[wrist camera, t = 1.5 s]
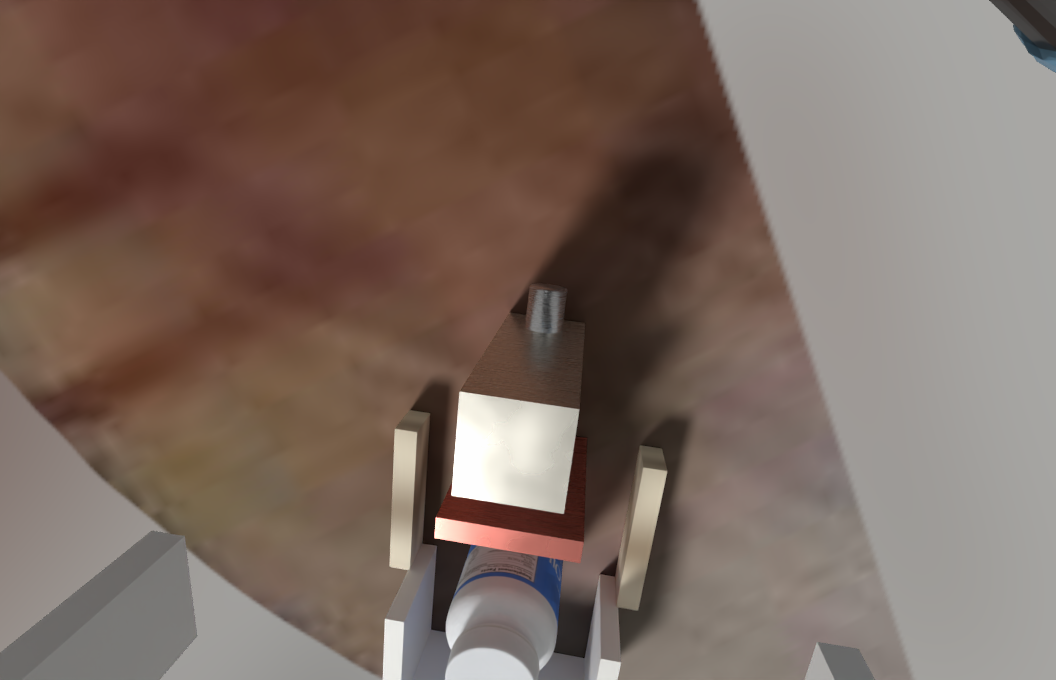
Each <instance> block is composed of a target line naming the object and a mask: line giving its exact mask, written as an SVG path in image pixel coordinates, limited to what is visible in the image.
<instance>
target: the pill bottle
mask: <svg viewBox="0 0 1056 680" xmlns="http://www.w3.org/2000/svg"><path fill="white" fill-rule="evenodd" d="M562 566H563V560H559V559H553V558H548V557H542V556H536V555H530V554H524V553H518V552H513V551H507V550H501V549H495V548H489V547H483V546H478V545H472V544H471V547H470V550H469V553H468V556H467V559H466V562H465V565H464V568H463V571H462V574H461V577H460V579H459V582H458V585H457V588H456V591H455V594H454V597H453V600H452V603H451V605H450V608H449V612H448V615H447V620H446V636H447V640H448V644H449V647H450V649H451V653H450V657H449V660H448V664H447V668H446V673H445V680H538V676H539V671H540V670H541V669H542V668H543V667H544V666H545V665H546V663H547V662H548V661H549V659H550V658H551V656H552V654H553V651H554V648H555V644H556V638H557V629H558V618H559V605H560V591H561V578H562Z"/></svg>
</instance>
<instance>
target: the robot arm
mask: <svg viewBox="0 0 1056 680" xmlns="http://www.w3.org/2000/svg"><path fill="white" fill-rule="evenodd" d="M989 1H991V2H992V3H993V4H994V5H995V6H996V7H997V8H998V9H999V10H1000V11H1001V12H1002V13H1003V14H1004V15H1005V16H1006V17H1007V18H1008V19H1009V20H1010V21H1011V22H1012V23H1013V24H1014V25H1013V27H1014V31H1015V32H1016V34H1017V35H1018V37H1019V39H1020V40H1021V42H1022V43H1023V44H1024V45H1025V47H1026V49H1027V51H1028V52H1029V53H1030V54H1031V55H1032V56H1034V58H1035V59H1036V61H1037V62H1039V63H1041V64H1042V65H1044V66H1045V67H1047V68H1048V69H1050V70H1052V71H1053V72H1056V0H989ZM196 637H197V631H196V624H195V615H194V607H193V599H192V591H191V583H190V575H189V567H188V559H187V551H186V543H185V536H180V535H174V534H168V533H162V532H155V531H151V532H150V533H148V534H147V535H146V536H145V537H143V538H142V539H141V540H140V541H138V542H137V543H136V544H135V545H133V546H132V547H131V548H130V549H129V550H127V551H126V552H125V553H124V554H122V555H121V556H120V557H119V558H117V559H116V560H115V561H114V562H112V563H111V564H110V565H109V566H107V567H106V568H105V569H104V570H102V571H101V572H100V573H99V574H97V575H96V576H95V577H94V578H93V579H91V580H90V581H89V582H87V583H86V584H85V585H84V586H82V587H81V588H80V589H79V590H77V591H76V592H75V593H74V594H72V595H71V596H70V597H69V598H68V599H66V600H65V601H64V602H63V603H61V604H60V605H59V606H58V607H56V608H55V609H54V610H53V611H51V612H50V613H49V614H48V615H46V616H45V617H44V618H43V619H42V620H40V621H39V622H38V623H36V624H35V625H34V626H33V627H31V628H30V629H29V630H28V631H27V632H25V633H24V634H23V635H22V636H20V637H19V638H18V639H17V640H16V641H14V642H13V643H12V644H10V645H9V646H8V647H7V648H5V649H4V650H3V651H2V652H0V680H160V679H161V678H162V676H163V675H164V674H165V673H166V671H168V669H169V668H170V667H171V666H172V665H173V664H174V662H175V661H176V660H177V659H178V658H179V657H180V655H181V654H182V653H183V652H184V651H185V650H186V649H187V647H188V646H189V645H190V644H191V643H192V642H193V640H194V639H195V638H196ZM805 680H875V679H874V677H873V675H872V673H871V671H870V669H869V667H868V666H867V664H866V662H865V660H864V658H863V656H862V655H861V653H860V651H859V649H856V648H850V647H844V646H838V645H832V644H826V643H820V642H817V644H816V647H815V650H814V653H813V656H812V659H811V662H810V665H809V668H808V671H807V674H806V678H805Z"/></svg>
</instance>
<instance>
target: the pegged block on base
mask: <svg viewBox="0 0 1056 680" xmlns="http://www.w3.org/2000/svg"><path fill="white" fill-rule="evenodd" d="M566 297H567V289H566V288H564V287H562V286H558V285H553V284H544V283H536V284H531V285H530V288H529V297H528V306H527V315H524V314H516V313H509V314H508V315H507V317H506V319H505V320H504V322H503V323H502V325H501V327H500V328H499V330H498V331H497V333H496V335H495V336H494V338H493V339H492V341H491V342H490V344H489V346H488V347H487V349H486V350H485V352H484V354H483V355H482V357H481V358H480V360H479V362H478V363H477V365H476V366H475V368H474V369H473V371H472V373H471V374H470V376H469V377H468V379H467V381H466V382H465V384H464V385H463V387H462V388H461V390H460V393H459V406H458V419H457V432H456V445H455V458H454V471H453V482H452V484H451V486H450V488H449V490H448V492H447V494H446V497H445V499H444V501H443V503H442V505H441V507H440V509H439V512H438V514H437V516H436V522H435V537H434V538H437V539H443V540H449V541H454V542H460V543H466V544H472V545H478V546H483V547H489V548H495V549H501V550H507V551H513V552H518V553H524V554H530V555H536V556H542V557H548V558H553V559H559V560H565V561H571V562H577V563H580V561H581V555H582V549H583V543H584V516H585V484H586V452H587V438H584V437H577V436H576V429H577V423H578V416H579V409H580V394H581V380H582V365H583V350H584V335H585V323H583V322H575V321H568V320H563V319H564V312H565V304H566Z"/></svg>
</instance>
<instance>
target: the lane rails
mask: <svg viewBox="0 0 1056 680" xmlns="http://www.w3.org/2000/svg"><path fill="white" fill-rule="evenodd" d="M429 427H430V413H426V412H419V411H412V410H409V412H408V413H407V414H406V415H405V417H404V418H403V419H402V420H401V422H400V423H399V424H398V426H397V427H396V428H395V440H394V465H393V491H392V517H391V543H390V567H394V568H399V569H405V570H410V569H411V567H412V565H413V563H414V561H415V558H416V556H417V554H418V552H419V550H420V548H421V546H422V544H423V527H424V511H425V494H426V477H427V460H428V444H429ZM666 475H667V468H666V464H665V459H664V455H663V451H662V449H661V448H655V447H648V446H642V445H640V447H639V452H638V457H637V463H636V468H635V473H634V478H633V484H632V489H631V494H630V499H629V505H628V510H627V515H626V520H625V526H624V531H623V536H622V541H621V547H620V552H619V557H618V562H617V568H616V573H615V591H616V607H619V608H625V609H631V610H636V611H638V608H639V604H640V599H641V594H642V589H643V585H644V580H645V575H646V570H647V566H648V561H649V556H650V551H651V547H652V542H653V537H654V532H655V528H656V523H657V518H658V513H659V509H660V504H661V499H662V494H663V490H664V485H665V480H666Z"/></svg>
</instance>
